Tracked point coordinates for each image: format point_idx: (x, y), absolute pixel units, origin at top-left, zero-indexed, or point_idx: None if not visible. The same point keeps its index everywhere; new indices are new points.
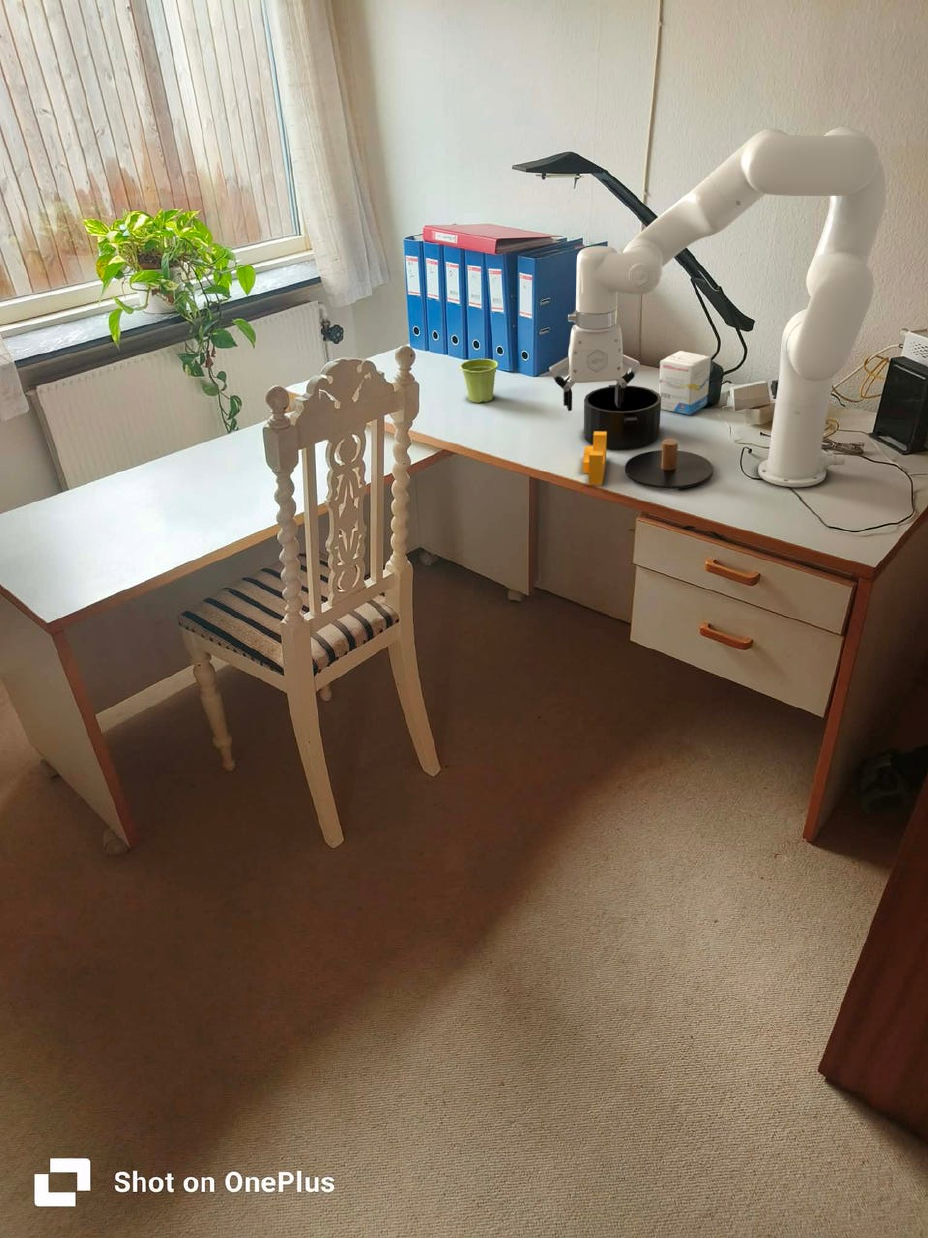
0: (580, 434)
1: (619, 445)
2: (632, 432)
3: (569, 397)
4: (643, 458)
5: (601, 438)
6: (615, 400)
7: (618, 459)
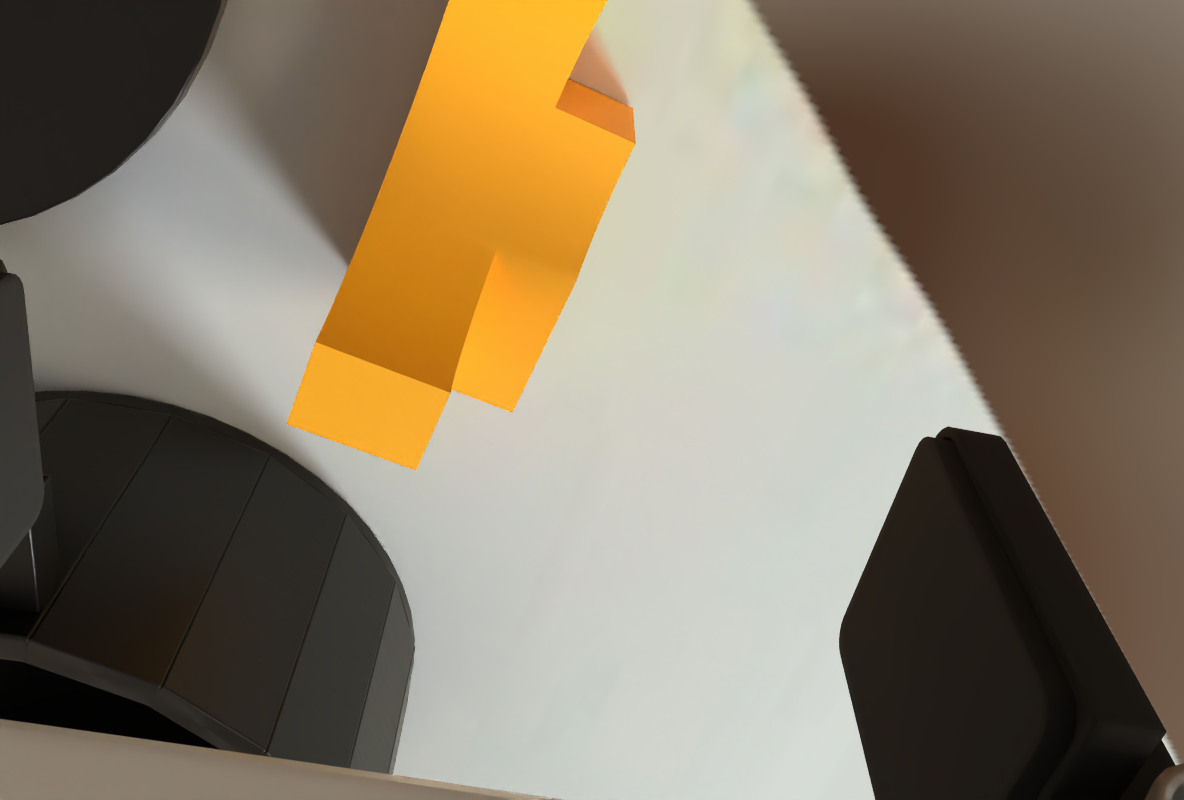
0: (425, 715)
1: (188, 434)
2: None
3: (1081, 614)
4: (8, 108)
5: (372, 338)
6: (9, 488)
7: (244, 259)
